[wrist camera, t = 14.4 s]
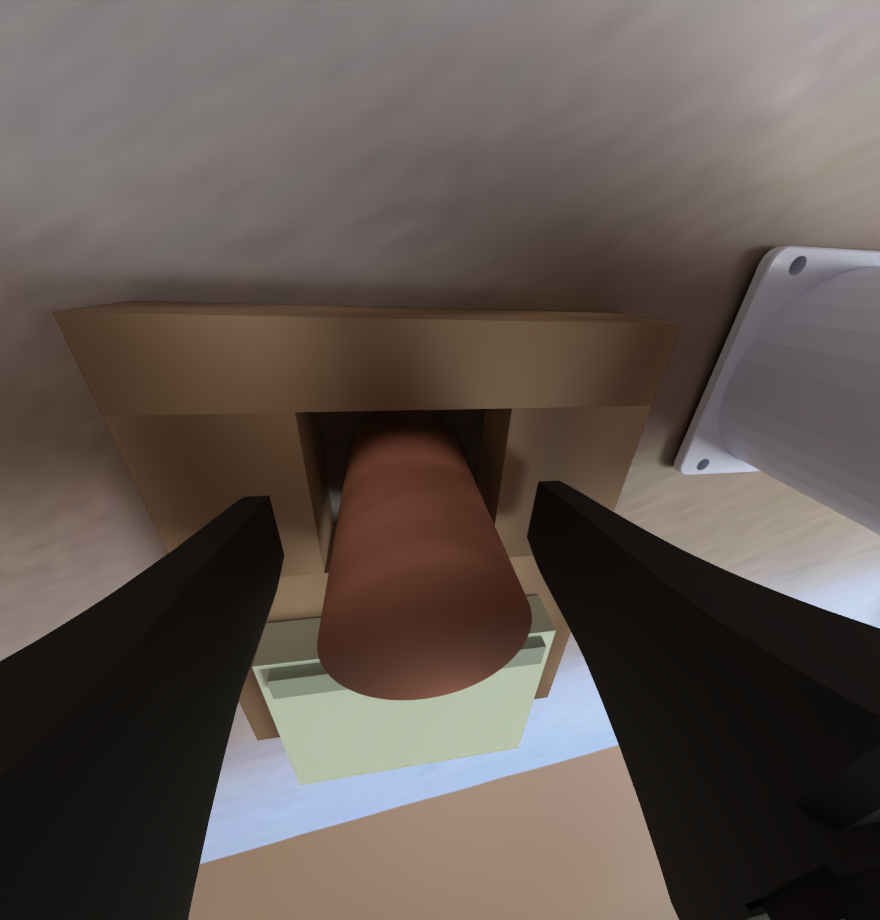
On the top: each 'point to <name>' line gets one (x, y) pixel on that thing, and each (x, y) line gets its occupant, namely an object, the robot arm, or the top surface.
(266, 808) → the top surface
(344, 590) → the pin
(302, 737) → the cover
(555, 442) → the board
